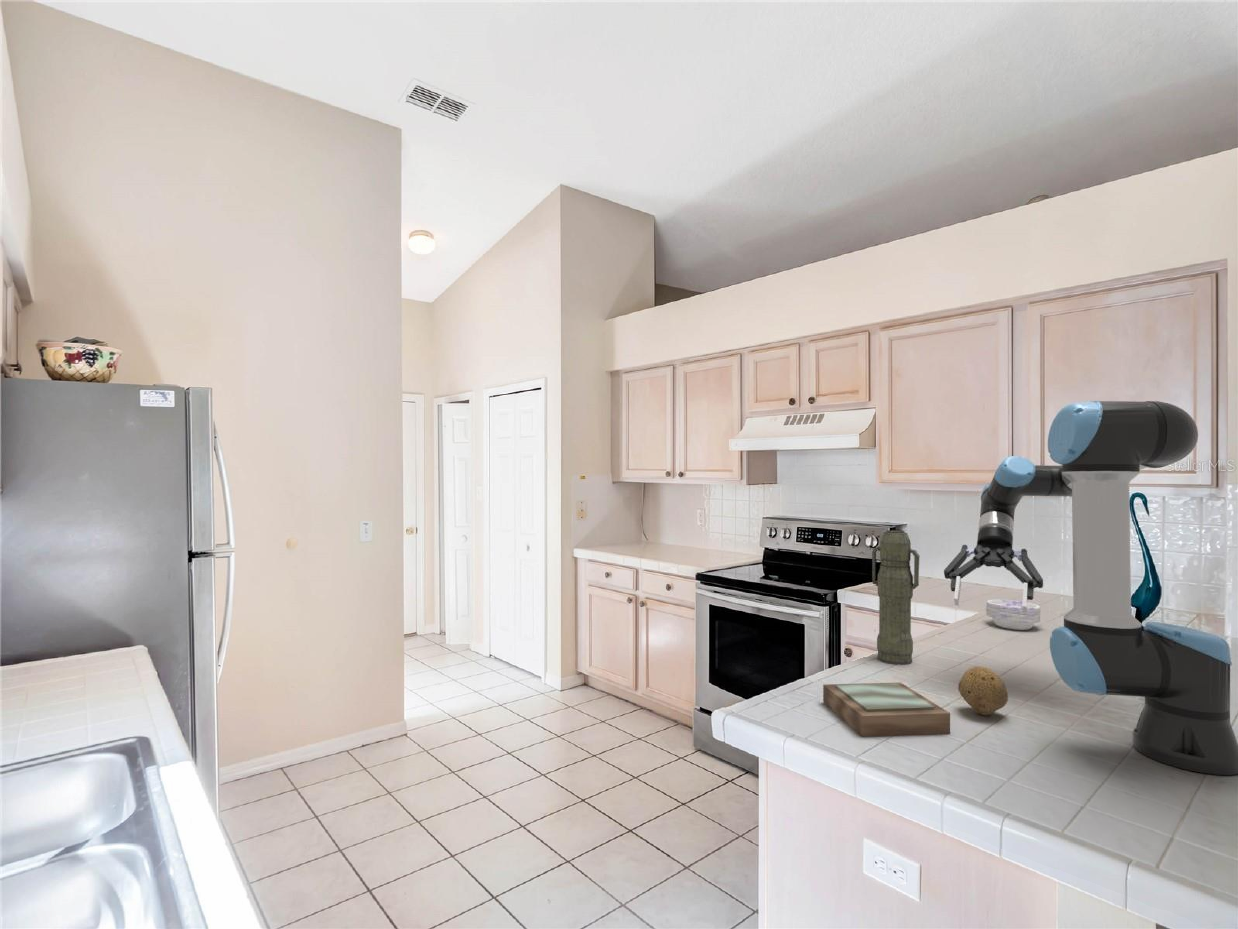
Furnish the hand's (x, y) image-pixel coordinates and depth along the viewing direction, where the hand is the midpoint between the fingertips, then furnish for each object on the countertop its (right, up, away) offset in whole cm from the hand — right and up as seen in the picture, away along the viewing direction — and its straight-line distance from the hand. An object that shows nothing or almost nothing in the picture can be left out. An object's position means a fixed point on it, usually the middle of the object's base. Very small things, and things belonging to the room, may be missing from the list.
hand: (989, 606), depth 146 cm
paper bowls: (+45, -21, +65) cm, 82 cm away
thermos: (-10, -21, +27) cm, 36 cm away
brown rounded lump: (-8, -21, -11) cm, 25 cm away
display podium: (-30, -20, -13) cm, 39 cm away
